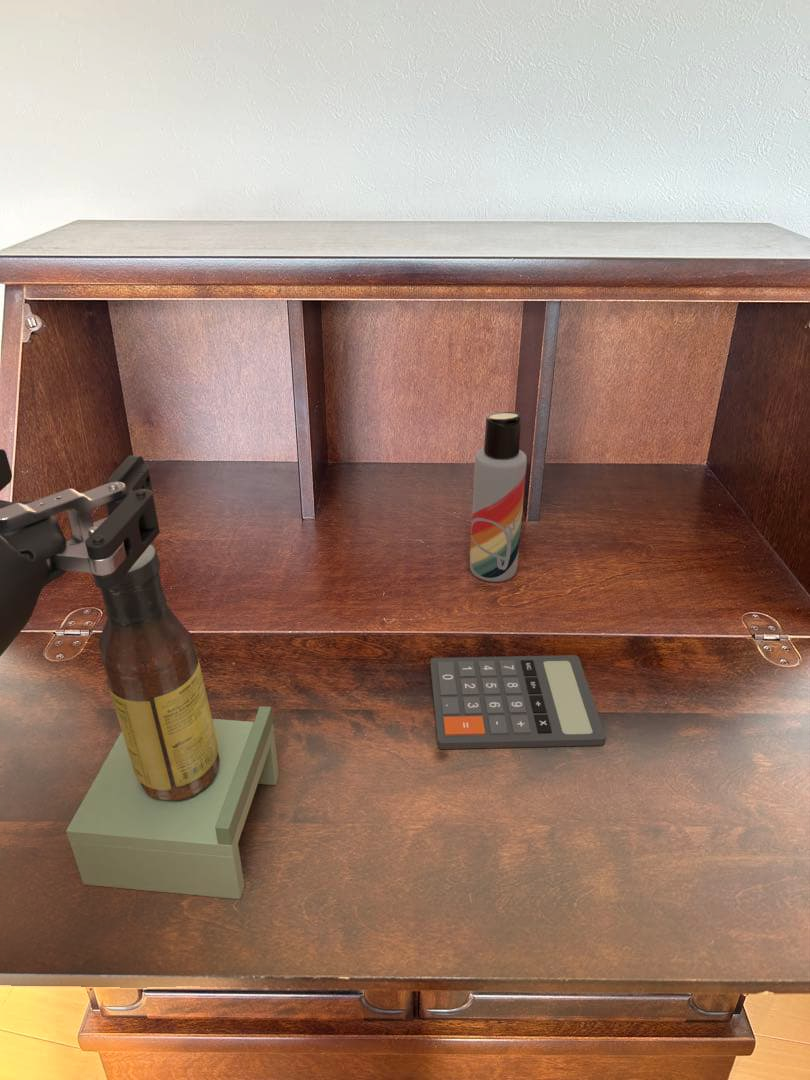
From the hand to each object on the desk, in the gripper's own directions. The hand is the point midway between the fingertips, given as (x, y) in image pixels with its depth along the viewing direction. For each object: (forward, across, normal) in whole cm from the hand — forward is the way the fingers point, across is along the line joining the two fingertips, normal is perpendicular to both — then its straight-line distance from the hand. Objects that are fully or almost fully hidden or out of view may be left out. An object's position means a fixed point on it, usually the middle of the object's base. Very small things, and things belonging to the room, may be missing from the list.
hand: (70, 466), depth 48 cm
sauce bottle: (0, -3, +26) cm, 26 cm away
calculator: (+17, -29, +32) cm, 46 cm away
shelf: (0, -3, +32) cm, 32 cm away
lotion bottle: (+40, -27, +32) cm, 58 cm away
